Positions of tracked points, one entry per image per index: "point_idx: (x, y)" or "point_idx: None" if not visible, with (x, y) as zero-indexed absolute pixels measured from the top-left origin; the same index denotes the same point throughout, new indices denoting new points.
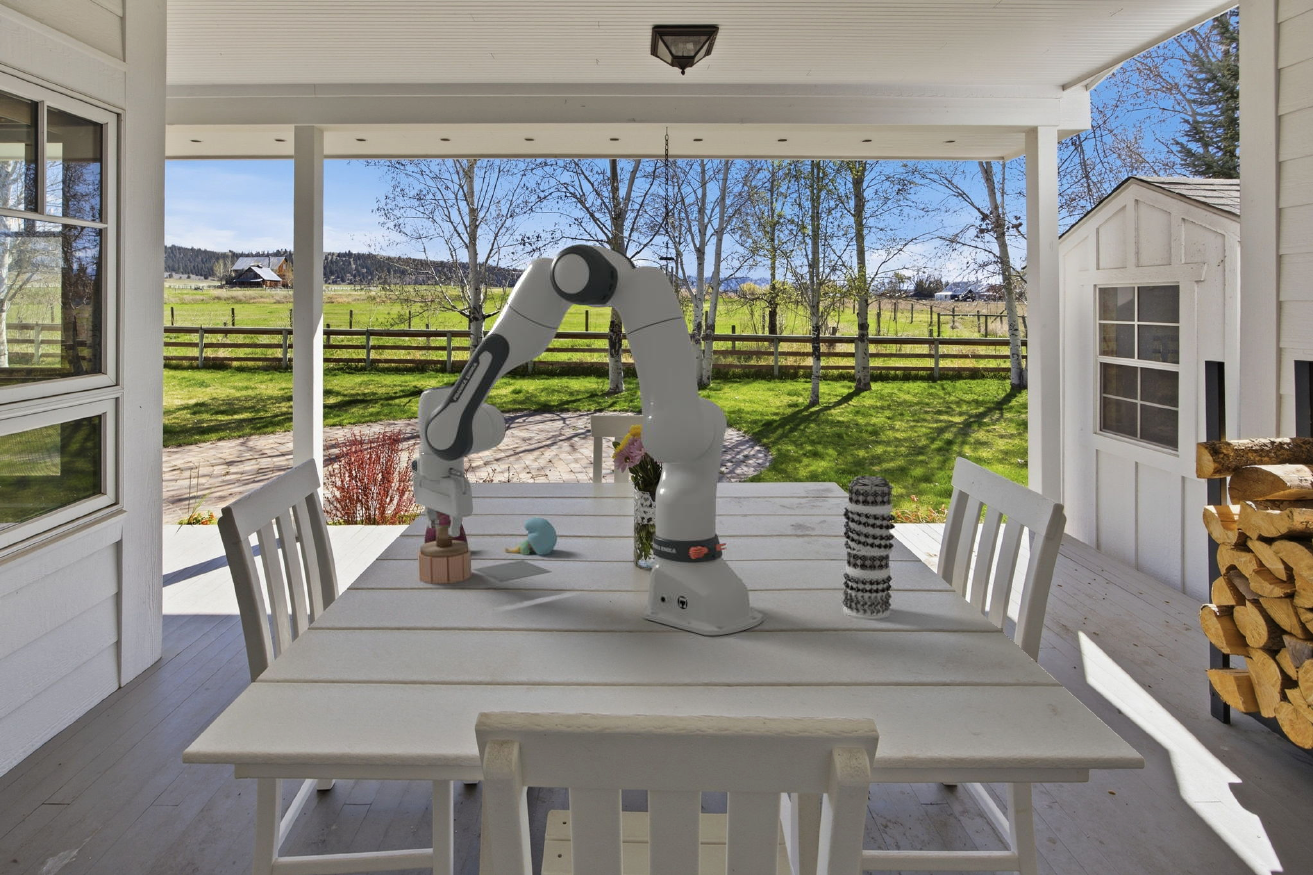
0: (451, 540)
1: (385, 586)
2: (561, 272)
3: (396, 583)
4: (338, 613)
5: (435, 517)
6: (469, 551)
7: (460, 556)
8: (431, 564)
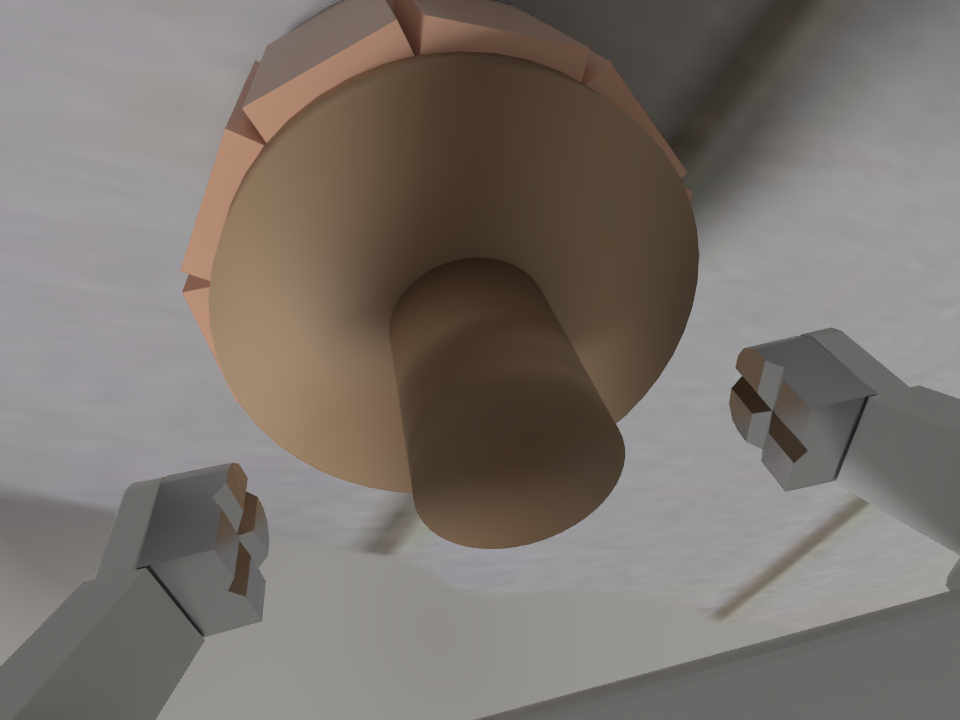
0: (544, 305)
1: None
2: None
3: None
4: (639, 587)
5: (133, 608)
6: (607, 72)
7: None
8: None
